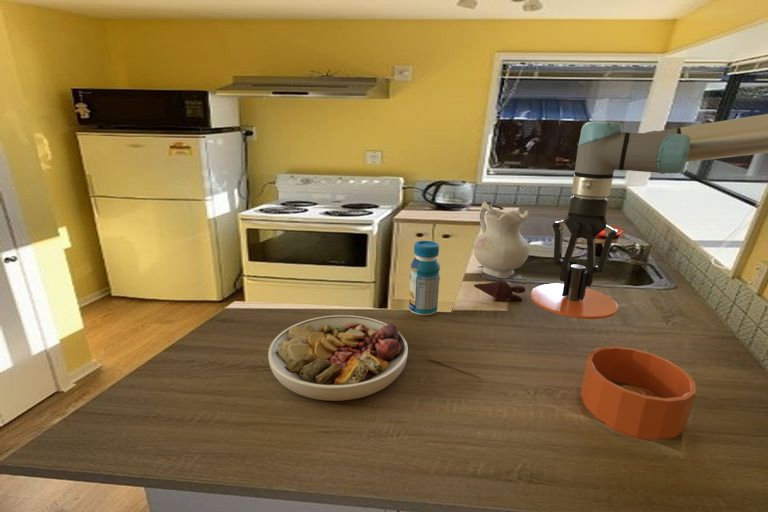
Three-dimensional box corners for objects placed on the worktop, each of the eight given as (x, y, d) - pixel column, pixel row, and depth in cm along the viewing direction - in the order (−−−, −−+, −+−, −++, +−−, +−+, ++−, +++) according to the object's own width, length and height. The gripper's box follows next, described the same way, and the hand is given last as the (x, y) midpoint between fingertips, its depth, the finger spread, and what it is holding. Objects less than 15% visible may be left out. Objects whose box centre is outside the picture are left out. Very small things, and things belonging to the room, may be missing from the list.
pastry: (638, 391, 87) (642, 375, 86) (668, 413, 81) (673, 396, 79) (601, 399, 84) (605, 382, 83) (628, 422, 78) (633, 404, 77)
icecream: (474, 283, 126) (526, 293, 122) (476, 269, 132) (526, 279, 128) (470, 301, 129) (521, 311, 126) (473, 287, 135) (521, 296, 132)
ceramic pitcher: (456, 270, 157) (458, 205, 148) (487, 256, 169) (490, 195, 160) (507, 288, 142) (513, 217, 133) (537, 271, 154) (544, 204, 145)
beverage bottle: (426, 319, 116) (430, 250, 110) (402, 310, 122) (405, 243, 115) (443, 309, 123) (448, 243, 116) (419, 301, 128) (423, 237, 121)
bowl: (286, 427, 75) (283, 389, 73) (259, 346, 101) (257, 316, 99) (432, 387, 87) (434, 354, 85) (375, 324, 113) (375, 297, 111)
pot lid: (621, 299, 102) (629, 263, 99) (610, 330, 87) (619, 288, 84) (542, 282, 112) (546, 249, 109) (519, 307, 97) (524, 269, 94)
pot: (684, 402, 85) (695, 365, 82) (683, 456, 71) (696, 414, 68) (589, 372, 94) (596, 338, 91) (572, 415, 80) (579, 376, 78)
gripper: (546, 194, 93) (533, 293, 100) (630, 203, 84) (609, 310, 92) (555, 190, 99) (542, 283, 106) (633, 198, 90) (613, 299, 98)
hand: (573, 296), depth 99 cm, fingers closed on pot lid, 3 cm apart
